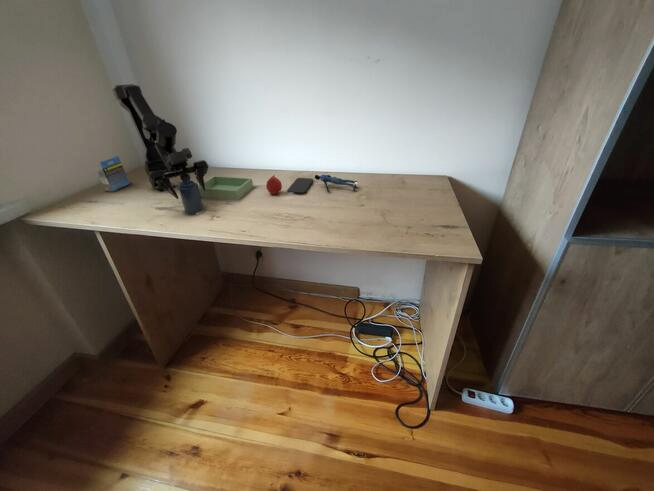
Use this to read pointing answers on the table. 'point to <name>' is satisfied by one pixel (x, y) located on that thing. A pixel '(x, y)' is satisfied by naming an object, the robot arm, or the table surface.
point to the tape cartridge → (113, 175)
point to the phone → (300, 185)
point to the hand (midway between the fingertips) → (191, 194)
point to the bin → (226, 187)
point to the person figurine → (336, 181)
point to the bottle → (190, 195)
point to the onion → (274, 185)
